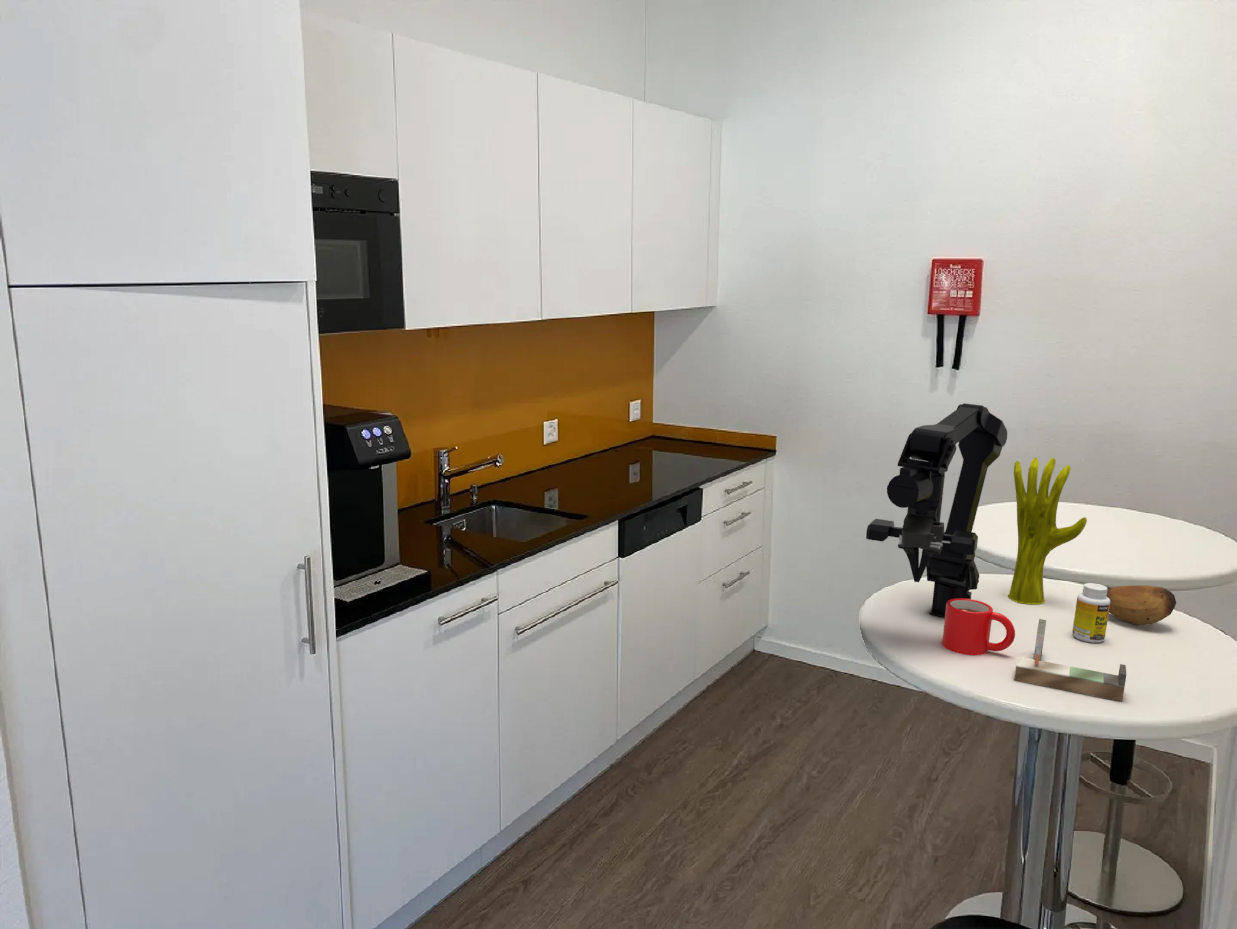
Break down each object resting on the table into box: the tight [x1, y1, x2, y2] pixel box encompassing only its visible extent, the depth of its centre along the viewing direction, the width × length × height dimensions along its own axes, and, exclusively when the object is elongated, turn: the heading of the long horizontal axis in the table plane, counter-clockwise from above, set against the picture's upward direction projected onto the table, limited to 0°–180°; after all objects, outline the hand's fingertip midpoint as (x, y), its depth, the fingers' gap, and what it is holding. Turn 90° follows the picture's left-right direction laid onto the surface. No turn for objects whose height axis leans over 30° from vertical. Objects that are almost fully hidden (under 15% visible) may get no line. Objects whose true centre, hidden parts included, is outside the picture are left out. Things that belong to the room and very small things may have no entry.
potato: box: [1106, 584, 1177, 627], centre depth 187 cm, size 8×14×8 cm
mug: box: [941, 598, 1016, 656], centre depth 170 cm, size 8×12×8 cm, turn 61°
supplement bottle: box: [1071, 582, 1110, 644], centre depth 178 cm, size 6×6×10 cm
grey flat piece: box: [1033, 618, 1047, 664], centre depth 164 cm, size 1×14×6 cm, turn 154°
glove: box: [1007, 457, 1088, 606], centre depth 196 cm, size 15×8×30 cm, turn 49°
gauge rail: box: [1014, 656, 1127, 702], centre depth 156 cm, size 16×4×5 cm, turn 64°
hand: (916, 581), depth 174 cm, fingers closed
